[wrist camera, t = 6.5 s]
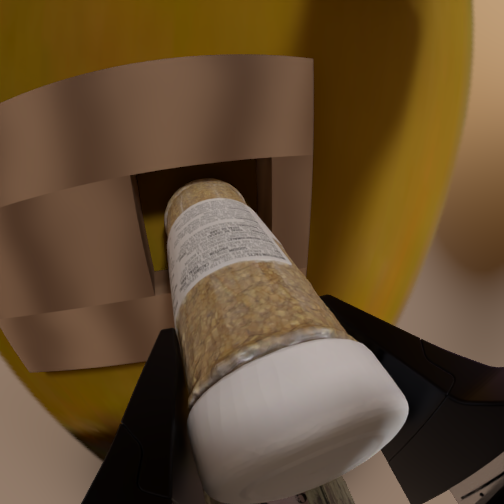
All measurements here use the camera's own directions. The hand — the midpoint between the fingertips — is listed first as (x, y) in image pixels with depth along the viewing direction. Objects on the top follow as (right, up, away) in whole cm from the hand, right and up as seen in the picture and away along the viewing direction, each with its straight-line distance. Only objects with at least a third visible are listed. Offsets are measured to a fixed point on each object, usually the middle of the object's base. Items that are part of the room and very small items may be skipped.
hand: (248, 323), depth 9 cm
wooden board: (-7, +4, +7) cm, 10 cm away
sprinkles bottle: (-2, +4, +7) cm, 9 cm away
